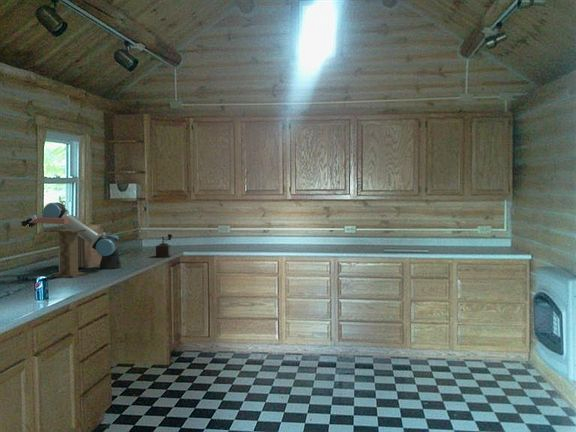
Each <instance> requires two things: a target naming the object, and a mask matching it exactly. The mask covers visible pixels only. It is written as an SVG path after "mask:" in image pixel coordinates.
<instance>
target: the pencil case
mask: <svg viewBox="0 0 576 432" xmlns="http://www.w3.org/2000/svg"><path fill="white" fill-rule="evenodd" d="M29 218H31V217H28V218H27V220H28V219H29ZM31 223H37V224H45V225H46V224H48V225H49V224H52V225H58V224H60V225H62V224H69V218H40V217H37V219H35V220H34V221H33V222H31Z"/></svg>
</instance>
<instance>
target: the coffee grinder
mask: <svg viewBox="0 0 576 432" xmlns="http://www.w3.org/2000/svg"><path fill="white" fill-rule="evenodd" d="M167 237H168V238H167V239H165V238H164V236H162V237H161V239H162V242H161V243H159V244H157V245H156V246H155V258H170V257H171V256H172V254H171V251H172V250H171V247H172V246H171V244H168V243H167V242H165V241H172V238H173V234H171V233H168V234H167Z"/></svg>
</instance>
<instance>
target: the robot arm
mask: <svg viewBox="0 0 576 432" xmlns="http://www.w3.org/2000/svg"><path fill="white" fill-rule="evenodd" d="M37 217H40V218H69V224H57V225H58V226H59V225H60V226H63V227H65V229H82V230H86V231H83V232H78V236H80V237H81V238H83V239H84V240H86V241H87V242H89V243H90V244H91V246H92V248H94V249H95V250H96V251H97V252H98V253H99V254H100V255H102V258H101V261H100V264H99V265H98V266H99V267H98V268H99V269H105V270H107V269H108V270H109V269H110V270H111V269H120V268H121V267H122V262H121V259H120V257H119V256H120V254H119V253H120V251H119V245H120V243H119V242H120V240H119V236H118V235H116V234H115V235H113V234H112V235H110V234H104V233H103V234H98V233H96V232H95V231H93V230H92V229H90V228H89V227H88V226H86V224H85V223H83V222H81V221H80V220H79V219H77V218H76V217H74V216H73V215H71V214H70V212H69V210H68V209H66V206H65V205H64V204H63V203H62V202H50V203H47V204H46V205H45V206H44V207H43V213H42V215H41V214H40V215H39V216H37ZM37 217H36V215H34V216H32V217H31V218H29V219H28V220H26V221H25V220H24V221H22V222H21V223H22V226H26V225H27V224H29V227H30V226H31V228H33V227H34V226H36V225H37V224H38V223H31V222H33V221H34V220H35V219H37Z"/></svg>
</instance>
